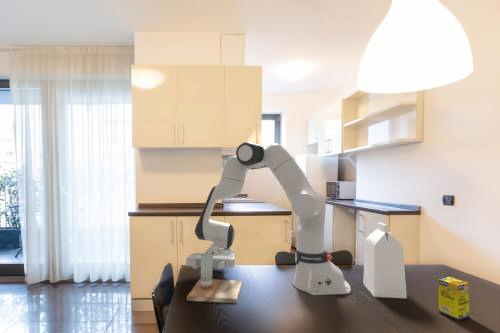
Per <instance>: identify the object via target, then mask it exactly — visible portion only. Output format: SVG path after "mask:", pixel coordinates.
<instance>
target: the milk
mask: <svg viewBox="0 0 500 333" xmlns="http://www.w3.org/2000/svg"><path fill="white" fill-rule="evenodd" d="M363 255H364V256H363V285H364V286H365V288H366V289H367V290H368V291H369V292H370V294H371V295H372V296H373V297H374V298H389V299H390V298H394V299H395V298H396V299H408V298H407V282H406V272H405V271H406V270H405V260H404V258H405V257H404V256H405V255H404V248H403V246H402V244H401V243H400V242H399V241H398V240H397V239H396V236H395V235H394V234H393V233H392V232H390V231H389V226H388V224H385V223H383V222H377V225H376V229H374V231H372V232H371V233H370V234H369V235H367V236H366V238H365V240H364V254H363Z"/></svg>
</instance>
